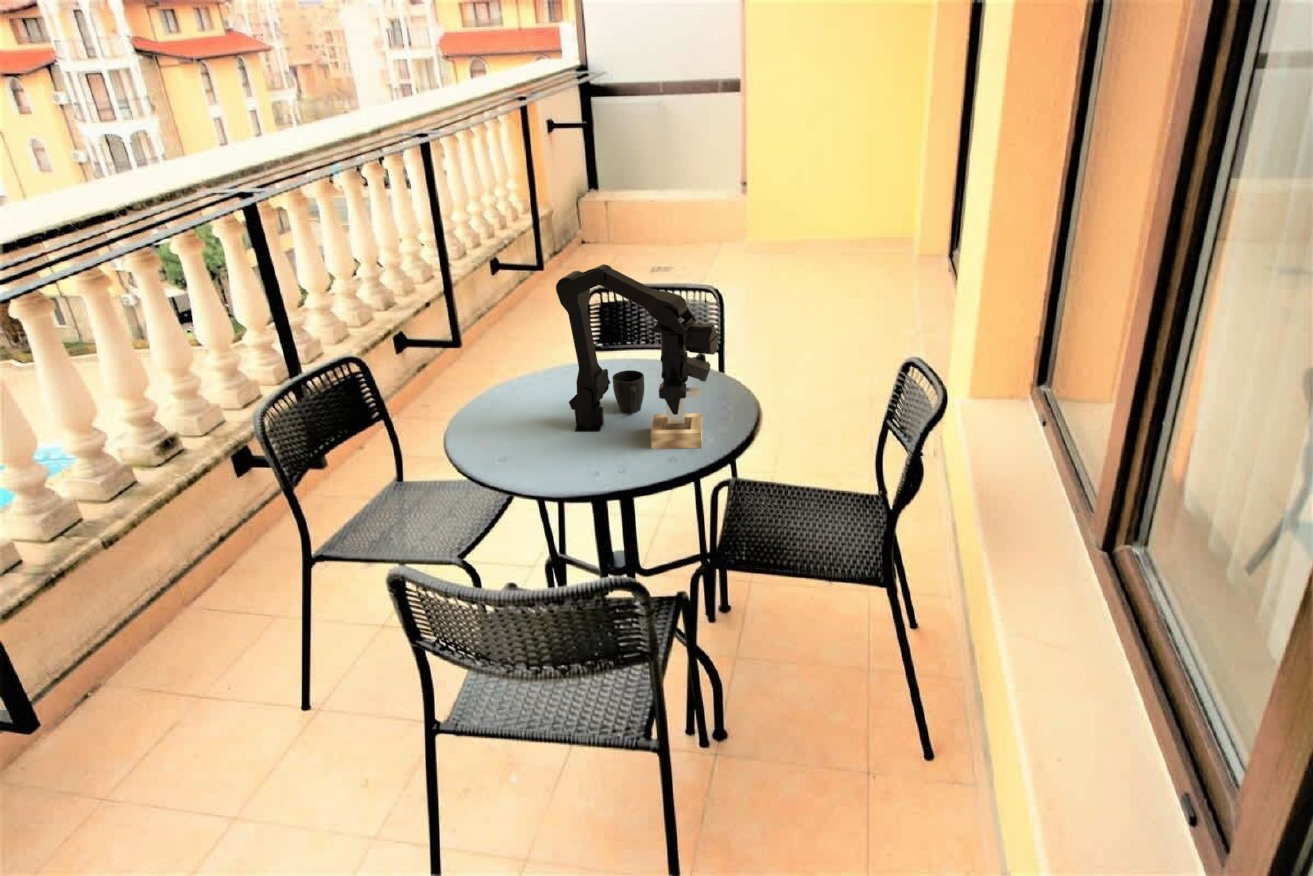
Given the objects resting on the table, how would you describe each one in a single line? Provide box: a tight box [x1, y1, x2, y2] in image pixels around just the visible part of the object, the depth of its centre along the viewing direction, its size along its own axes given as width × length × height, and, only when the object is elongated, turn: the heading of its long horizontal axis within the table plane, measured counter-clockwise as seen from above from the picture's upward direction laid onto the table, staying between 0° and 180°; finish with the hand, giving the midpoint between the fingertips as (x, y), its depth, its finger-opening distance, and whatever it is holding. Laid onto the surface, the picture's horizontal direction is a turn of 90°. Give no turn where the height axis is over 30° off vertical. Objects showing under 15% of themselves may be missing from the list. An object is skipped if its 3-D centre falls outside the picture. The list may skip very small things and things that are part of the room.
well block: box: [650, 412, 704, 450], centre depth 205 cm, size 12×11×4 cm
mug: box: [612, 369, 645, 414], centre depth 219 cm, size 8×12×10 cm
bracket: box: [666, 386, 702, 424], centre depth 202 cm, size 8×4×8 cm, turn 86°
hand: (675, 410), depth 203 cm, fingers closed on bracket, 4 cm apart
